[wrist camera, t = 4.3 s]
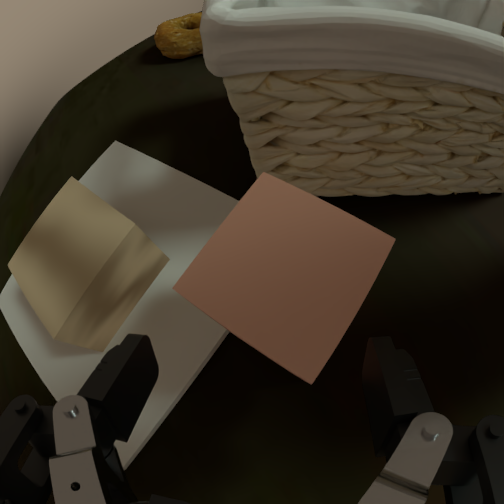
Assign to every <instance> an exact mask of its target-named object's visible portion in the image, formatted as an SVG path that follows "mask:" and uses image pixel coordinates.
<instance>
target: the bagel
mask: <svg viewBox="0 0 504 504" xmlns="http://www.w3.org/2000/svg"><path fill="white" fill-rule="evenodd" d="M201 16H202V12H201V13H195V14H194V13H192V14H188V15H185V16H182V17H178V18H175V19H171V20H168V21H166V22H163V23H162V24H160V25H159V26H158V27H157V30H156V32H155V36H154V39H155V41H156V46H157V48H158V49H159V50H161V53H162V54H163V56H166V57H168V58H172V59H184V58H187V57H192V56H194V55H199V54H203V45H202V39H201V34H200V30H199V29H200V23H201Z"/></svg>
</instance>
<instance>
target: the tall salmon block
mask: <svg viewBox="0 0 504 504" xmlns="http://www.w3.org/2000/svg"><path fill="white" fill-rule="evenodd" d="M394 241H395V238H393V237H391V236H389V235H388V234H386V233H384V232H382V231H380V230H379V229H377V228H375V227H373V226H371V225H370V224H368V223H366V222H364V221H362V220H360V219H358V218H356V217H355V216H353V215H351V214H349V213H347V212H345V211H343V210H341V209H339V208H337V207H335V206H333V205H332V204H330V203H328V202H326V201H324V200H322V199H320V198H318V197H316V196H314V195H312V194H310V193H308V192H305V191H303V190H301V189H299V188H297V187H295V186H293V185H291V184H289V183H287V182H285V181H282V180H280V179H278V178H276V177H274V176H272V175H270V174H267V173H265V172H263V173H262V174H261V175H260V176H259V178H258V179H257V180H256V181H255V183H254V184H253V185H252V186H251V187H250V189H249V190H248V191H247V192H246V194H245V195H244V196H243V197H242V199H241V200H240V201H239V202H238V204H237V205H236V206H235V207H234V209H233V210H232V211H231V212H230V214H229V215H228V216H227V217H226V219H225V220H224V221H223V223H222V224H221V225H220V226H219V228H218V229H217V230H216V231H215V233H214V234H213V235H212V237H211V238H210V239H209V240H208V242H207V243H206V244H205V246H204V247H203V248H202V250H201V251H200V252H199V253H198V255H197V256H196V257H195V259H194V260H193V261H192V263H191V264H190V265H189V267H188V268H187V269H186V270H185V272H184V273H183V274H182V276H181V277H180V278H179V280H178V281H177V282H176V284H175V285H174V286H173V288H172V289H174V290H175V291H176V292H177V293H179V294H180V295H181V296H183V297H184V298H185V299H186V300H188V301H189V302H190V303H192V304H193V305H194V306H196V307H197V308H198V309H200V310H201V311H202V312H204V313H205V314H206V315H208V316H209V317H210V318H212V319H213V320H215V321H216V322H217V323H219V324H220V325H221V326H223V327H224V328H226V329H227V330H228V331H230V332H231V333H233V334H234V335H235V336H237V337H238V338H240V339H241V340H243V341H244V342H246V343H247V344H248V345H250V346H251V347H253V348H254V349H256V350H257V351H259V352H260V353H262V354H263V355H265V356H266V357H268V358H269V359H271V360H272V361H274V362H275V363H277V364H278V365H280V366H282V367H283V368H285V369H286V370H288V371H289V372H291V373H292V374H294V375H296V376H297V377H299V378H300V379H302V380H304V381H305V382H307V383H309V384H311V385H312V383H313V382H314V380H315V379H316V377H317V376H318V374H319V373H320V371H321V370H322V368H323V367H324V365H325V364H326V362H327V361H328V359H329V358H330V356H331V355H332V353H333V351H334V350H335V348H336V347H337V345H338V343H339V342H340V340H341V339H342V337H343V335H344V334H345V332H346V330H347V329H348V327H349V325H350V324H351V322H352V320H353V319H354V317H355V315H356V313H357V312H358V310H359V308H360V306H361V305H362V303H363V301H364V299H365V298H366V296H367V294H368V292H369V290H370V288H371V287H372V285H373V283H374V281H375V279H376V277H377V275H378V273H379V271H380V270H381V268H382V266H383V264H384V262H385V260H386V258H387V256H388V254H389V252H390V250H391V248H392V246H393V244H394Z"/></svg>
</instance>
